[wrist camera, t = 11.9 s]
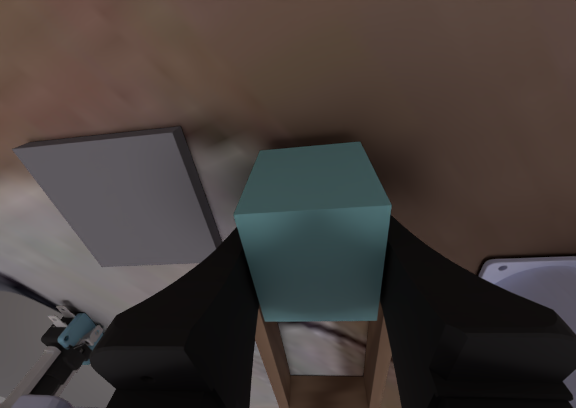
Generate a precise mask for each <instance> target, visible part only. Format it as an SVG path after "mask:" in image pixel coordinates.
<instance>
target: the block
mask: <svg viewBox="0 0 576 408" xmlns="http://www.w3.org/2000/svg"><path fill="white" fill-rule="evenodd" d="M391 206H392V205H391V203H390V201H389V199H388V197H387V195H386V193H385V191H384V189H383V187H382V185H381V183H380V181H379V179H378V177H377V175H376V173H375V171H374V169H373V167H372V164H371V162H370V160H369V158H368V156H367V154H366V152H365V150H364V148H363V146H362V144H361V142H349V143H338V144H327V145H316V146H305V147H294V148H283V149H272V150H261V151H260V152H259V154H258V156H257V159H256V161H255V164H254V166H253V169H252V171H251V173H250V176H249V178H248V181H247V183H246V186H245V188H244V190H243V193H242V195H241V198H240V200H239V203H238V205H237V207H236V210H235V212H234V218H235V222H236V225H237V229H238V232H239V235H240V239H241V242H242V246H243V249H244V252H245V256H246V259H247V263H248V266H249V269H250V273H251V276H252V280H253V283H254V286H255V290H256V293H257V297H258V300H259V303H260V307H261V310H262V314H263V317H264V320H265V322H282V321H377V316H378V308H379V300H380V293H381V285H382V277H383V269H384V261H385V253H386V245H387V238H388V230H389V222H390V214H391Z"/></svg>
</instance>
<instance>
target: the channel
mask: <svg viewBox="0 0 576 408" xmlns="http://www.w3.org/2000/svg"><path fill="white" fill-rule="evenodd" d="M255 341H256V344H257V347H258V349H259V352H260V355H261V358H262V360H263V363H264V366H265V369H266V372H267V374H268V377H269V380H270V383H271V385H272V388H273V391H274V394H275V397H276V399H277V402H278V405H279V408H380V406H381V401H382V396H383V392H384V387H385V382H386V378H387V373H388V368H389V364H390V359H391V355H392V353H391V348H390V343H389V338H388V333H387V329H386V324H385V320H384V315H383V311H382V307H381V303H380V300H379V308H378V316H377V321H369V326H368V336H367V345H366V355H365V365H364V375H363V377H361V376H291V375H290V371H289V367H288V363H287V359H286V355H285V351H284V347H283V343H282V339H281V335H280V331H279V327H278V323H277V322H265V320H264V317H263V314H262V310H261V307H260V304H259V310H258V318H257V326H256V335H255Z"/></svg>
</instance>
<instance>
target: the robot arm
mask: <svg viewBox="0 0 576 408" xmlns="http://www.w3.org/2000/svg"><path fill="white" fill-rule="evenodd" d="M380 303H381V307H382V311H383V315H384V320H385V324H386V329H387V333H388V338H389V343H390V348H391V353H392V358H393V363H394V368H395V373H396V378H397V384H398V389H399V395H400V400H401V406H402V408H576V256H565V257H538V258H510V259H491V260H488V261H486V262H485V263H484V264H483V266H482V269H481V271H480V273H479V276H477V275H475V274H473V273H471V272H469V271H468V270H466V269H464V268H462V267H460V266H459V265H457V264H455V263H453V262H452V261H450V260H448V259H447V258H445V257H444V256H442V255H441V254H439V253H438V252H436V251H435V250H433V249H432V248H430V247H429V246H427V245H426V244H425V243H423V242H422V241H421V240H419V239H418V238H417V237H416V236H414V235H413V234H412V233H411V232H409V231H408V230H407V229H406V228H405V227H404V226H402V225H401V224H400V223H399V222H398V221H397V220H396V219H395V218H394V217H393V216H392V215H391V214H390V222H389V230H388V238H387V245H386V253H385V261H384V269H383V277H382V285H381V293H380ZM259 304H260V303H259V300H258V297H257V293H256V290H255V286H254V283H253V280H252V276H251V273H250V269H249V266H248V263H247V259H246V256H245V252H244V249H243V246H242V242H241V239H240V235H239V232H238V229H237V227H236V228H235V230H234V231H233V232H232V233H231V234H230V235H229V236H228V237H227V238H226V239H225V240H224V241H223V242H222V243H221V244H220V245H219V246H218V247H217V248H216V249H215V250H214V251H213V252H212V253H211V254H210V255H209V256H208V257H207V258H206V259H204V260H203V261H202V262H201V263H200V264H198V265H197V266H196V267H195V268H193V269H192V270H191V271H189V272H188V273H186V274H185V275H184V276H182V277H181V278H179V279H178V280H177V281H175V282H174V283H172V284H171V285H169V286H168V287H166V288H165V289H163V290H161V291H160V292H158V293H156V294H155V295H153V296H151V297H150V298H148V299H146V300H144V301H143V302H141V303H139V304H137V305H135V306H133V307H131V308H129V309H128V310H126V311H124V312H122V313H120V314H118V315H116V317H115V318H114V319H113V321H112V322H111V324H110V325H109V327H108V328H107V330H106V331H105V333H104V334H103V336H102V337H101V339H100V340H99V342H98V343H97V344H96V346H95V347H94V349H93V350H92V352H91V353H90V357H89V360H90V363H91V366H92V367H93V369H94V370H95V371H96V372H97V373H98V374H100V375H101V376H102V377H103V378H105V380H107V381H108V382H109V383H110V384H111V385H112V386H113V387H115V388H116V390H115V392H114V394H113V396H112V398H111V400H110V401H109V403H108V405H107V407H106V408H249V406H250V391H251V377H252V366H253V354H254V345H255V335H256V326H257V318H258V310H259ZM11 408H97V407H72V405H71V404H70V403H69V402H68V401H66V400H64V399H63V398H60V397H57V396H51V395H22V396H20V397H19V398H18V399H17V401H16V402H15V403H14V404H13V406H12V407H11Z"/></svg>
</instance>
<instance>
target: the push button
mask: <svg viewBox="0 0 576 408" xmlns="http://www.w3.org/2000/svg"><path fill="white" fill-rule="evenodd" d="M57 309H58V310H59V311H60V312H61V314H62V315H63V317H62V319H61V320H60V319H59V318H58V317H57V316H55V315H54V316H53V315H48V318H49V319H51V320H52V321H53V325H52V326H51V327H50V328H49V329H48V330H47V332H46V333H45V334H44V335H43V336H42V338H41V341H42V342H43V343H44V344H45V345H46V346H47V347H46V348H45V350H44V353H43V355H42V356H41V357H40V358H39V359H38V361H37V362H36V363H35V364H34V366H33V367H32V368H31V369H30V371H29V372H28V373H27V374H26V375H25V377H24V378H23V379H22V380H21V381H20V383H19V384H18V385H17V386H16V388H15V389H14V390H13V391H12V392H11V394H10V395H9V396H8V397H7V398H6V400H5V401H4V402H3V403H2V404H0V408H11V407H12V406H13V404H14V403H15V402H16V401H17V399H18V398H19V397H20V396H22V395H51V396H57V397H59V396H60V394H61V393H62V391H63V390H64V388H65V387H66V386H67V384H68V383H69V381H70V380H71V378H72V376H73V375H74V374H75V373H77V371H78V370H79V368H80V366H81V365H89V364H90V360H89V357H90V353H91V352H92V350H93V349H94V347H95V346H96V344H97V343H98V342H99V340H100V339H101V337H102V336H103V333H102V332H103V329H102V328H101V327H100V325H97V326H96V325H95V324H94V323H93V321H92V320H91V319H90V318H89V317H88V316H87V314H85V313H71V312H70V311H69V310H68V309H67V308H66V307H65V306H57ZM62 309H64V310H65V311H64V310H62ZM53 318H55V319H57V320H54V319H53Z"/></svg>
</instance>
